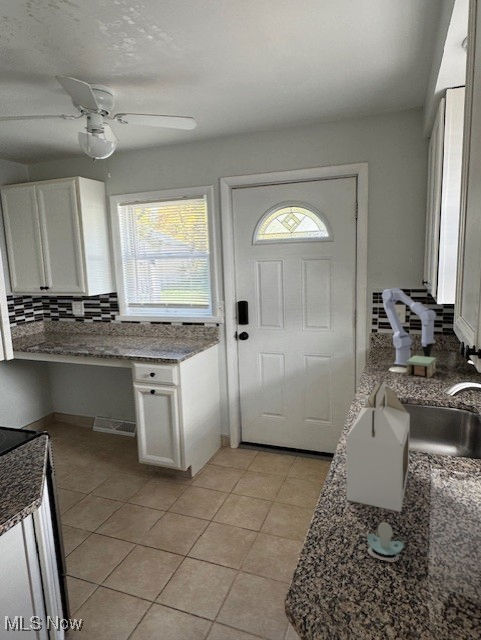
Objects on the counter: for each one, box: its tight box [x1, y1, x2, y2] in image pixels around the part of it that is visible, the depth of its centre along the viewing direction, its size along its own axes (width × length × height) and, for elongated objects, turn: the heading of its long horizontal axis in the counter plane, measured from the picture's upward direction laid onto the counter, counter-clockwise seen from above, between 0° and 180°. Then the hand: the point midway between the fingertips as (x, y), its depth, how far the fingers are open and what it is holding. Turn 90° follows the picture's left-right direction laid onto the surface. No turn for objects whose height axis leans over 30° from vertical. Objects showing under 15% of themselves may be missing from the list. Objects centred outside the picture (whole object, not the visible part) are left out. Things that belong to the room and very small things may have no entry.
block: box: [413, 365, 427, 377], centre depth 214 cm, size 5×5×5 cm
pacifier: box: [366, 522, 404, 561], centre depth 86 cm, size 7×6×6 cm
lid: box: [406, 355, 437, 366], centre depth 214 cm, size 14×11×2 cm
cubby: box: [406, 360, 437, 379], centre depth 215 cm, size 14×11×6 cm
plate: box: [388, 366, 407, 374], centre depth 222 cm, size 10×10×1 cm
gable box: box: [345, 378, 411, 512], centre depth 110 cm, size 22×13×28 cm, turn 153°
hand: (427, 357), depth 223 cm, fingers closed
